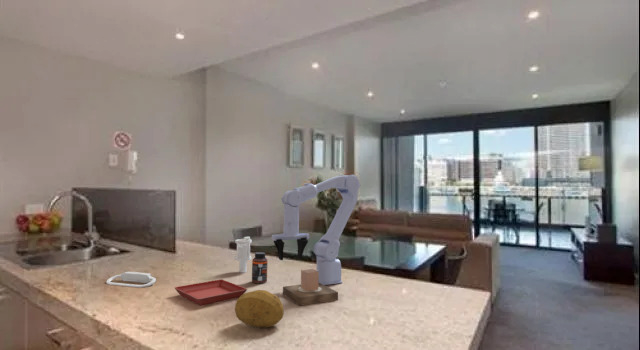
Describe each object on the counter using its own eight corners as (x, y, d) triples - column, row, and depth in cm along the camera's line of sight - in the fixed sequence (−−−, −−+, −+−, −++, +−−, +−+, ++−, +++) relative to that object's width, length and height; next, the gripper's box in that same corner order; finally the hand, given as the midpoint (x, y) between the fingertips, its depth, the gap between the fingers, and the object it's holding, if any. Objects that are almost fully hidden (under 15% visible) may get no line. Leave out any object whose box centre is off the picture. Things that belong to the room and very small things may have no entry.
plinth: (318, 289, 135) (318, 281, 135) (337, 299, 123) (337, 291, 123) (282, 293, 128) (282, 286, 128) (299, 305, 116) (300, 296, 116)
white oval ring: (102, 288, 139) (100, 279, 138) (119, 278, 146) (117, 269, 146) (146, 293, 133) (144, 283, 133) (161, 282, 141) (160, 273, 140)
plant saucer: (221, 287, 137) (221, 278, 137) (248, 298, 124) (248, 288, 124) (173, 297, 124) (173, 287, 125) (197, 310, 112) (197, 299, 112)
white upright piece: (254, 271, 161) (255, 237, 162) (243, 274, 155) (243, 239, 156) (242, 269, 165) (243, 235, 166) (231, 272, 159) (231, 237, 160)
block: (312, 286, 129) (312, 268, 129) (318, 289, 125) (318, 271, 125) (300, 287, 127) (301, 270, 127) (306, 291, 123) (306, 272, 123)
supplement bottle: (264, 284, 140) (264, 254, 141) (249, 283, 142) (249, 253, 142) (269, 280, 146) (269, 251, 147) (255, 279, 147) (255, 251, 148)
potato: (275, 298, 93) (286, 285, 102) (227, 297, 96) (242, 284, 105) (277, 335, 93) (288, 318, 102) (229, 332, 96) (244, 316, 105)
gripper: (277, 224, 131) (276, 262, 130) (313, 223, 138) (312, 259, 137) (270, 222, 137) (269, 258, 137) (305, 221, 144) (304, 256, 144)
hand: (290, 259), depth 137 cm, fingers open, 7 cm apart
